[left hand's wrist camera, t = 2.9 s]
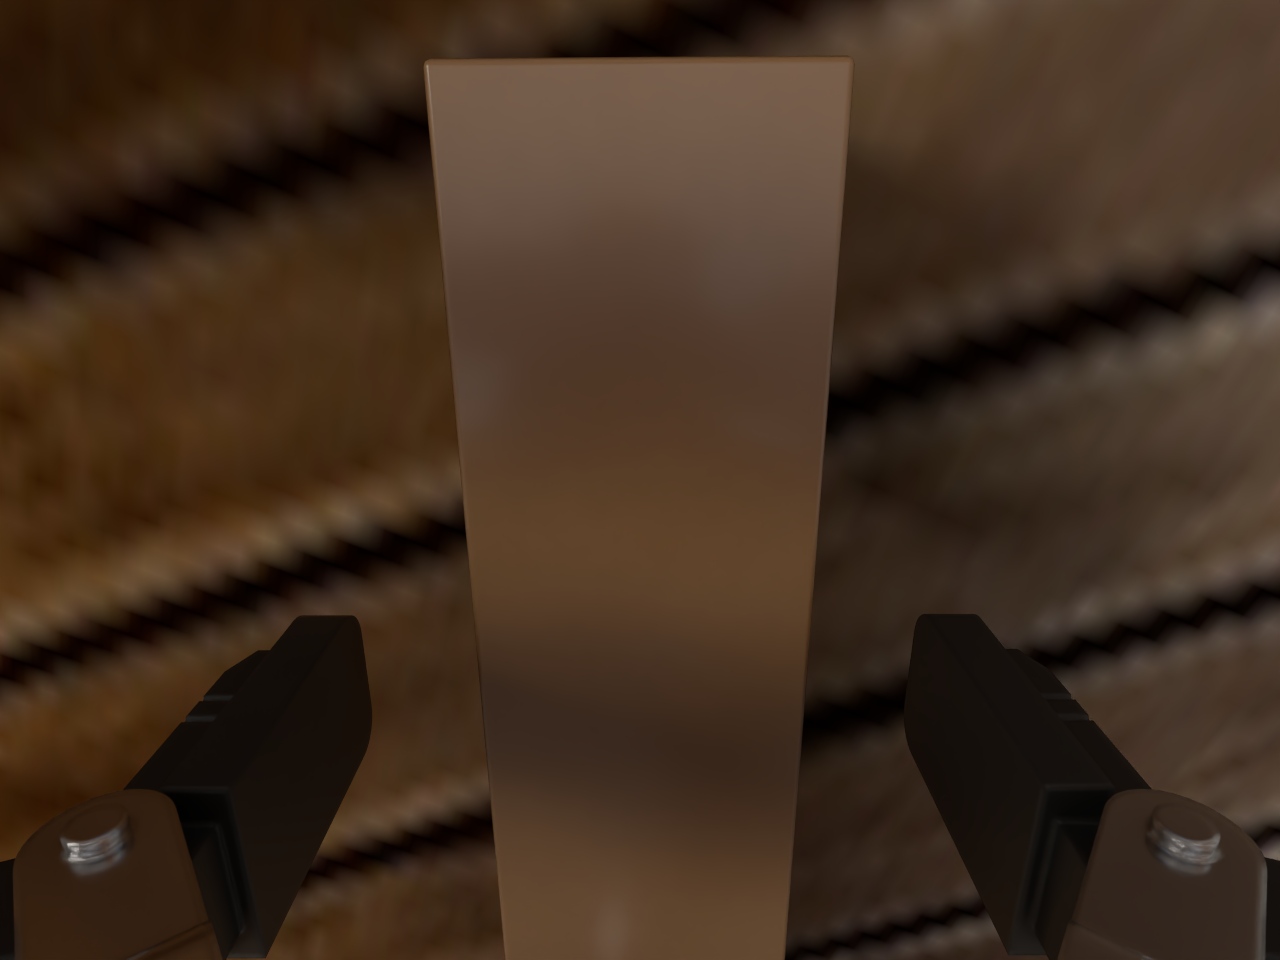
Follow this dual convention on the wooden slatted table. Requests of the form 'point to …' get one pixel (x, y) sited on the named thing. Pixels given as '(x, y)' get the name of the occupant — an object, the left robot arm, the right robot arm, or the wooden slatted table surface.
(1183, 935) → the left robot arm
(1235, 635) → the wooden slatted table surface
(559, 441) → the post
